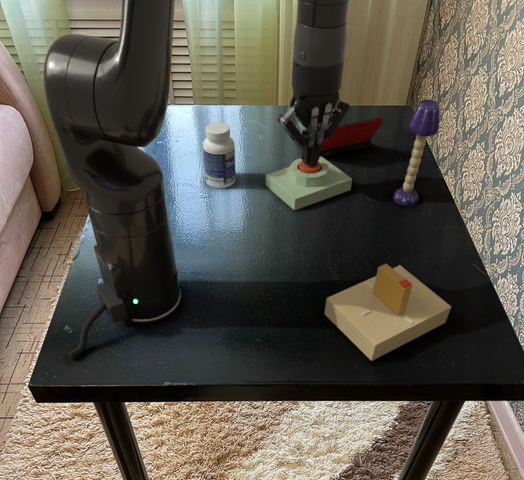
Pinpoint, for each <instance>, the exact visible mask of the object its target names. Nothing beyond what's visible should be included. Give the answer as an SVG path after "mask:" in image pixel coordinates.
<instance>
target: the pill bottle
mask: <svg viewBox="0 0 524 480" xmlns="http://www.w3.org/2000/svg"><path fill="white" fill-rule="evenodd" d="M205 137H206V138H204V140H203V142H202V155H203V165H204V166H203V167H204V179H205V182H206V184H207V185H208V186H210V187H212V188H214V189H215V188H216V189H225V188H228V187H230V186H232V185H234V183H235V182H236V147H235V146H236V145H235V141H234V139H233V138H232V137H231V128H230V126H229V124H227V123H224V122H212V123H209V124H208V125H206V127H205Z"/></svg>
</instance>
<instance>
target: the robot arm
mask: <svg viewBox="0 0 524 480" xmlns="http://www.w3.org/2000/svg"><path fill="white" fill-rule="evenodd" d="M175 2H176V0H121V14H120V15H121V16H120V17H121V18H120V19H121V21H120V29H119V36H118V39H111V38H104V37H99V36H93V35H86V34H79V33H67V34H64V35H61V36H60V37H58V38H56V39H55V40H54V42H52V44H51V45H50V46H49V48H48V50H47V51H46V55H45V59H44V64H43V78H42V79H43V91H44V98H45V102H46V105H47V109H48V113H49V117H50V120H51V122H52V126H53V129H54V132H55V134H56V137H57V140H58V142H59V146H60V149H61V151H62V154H63V157H64V160H65V163H66V167H67V169H68V171H69V175H70V177H71V178H72V180H73V181H74V183H75V185H77V187H78V188H79V189H80V191H81V193H82V195H83V199H84V202H85V205H86V209H87V213H88V217H89V220H90V225H91V228H92V232H93V236H94V238H95V242H96V244H95V245H94V246H93V250H94V254H95V257H96V261H97V265H98V268H99V271H100V275H101V279H102V282H103V283H101V284H99V285H96V286H95V288H96V292H97V295H98V298H99V301H100V305H99V306H98V307H97V308H96V309H95V310H94V311H93V312H92V313H91V314H90V316H89V317H88V318H87V319H86V321H85V322H84V324H83V326H82V327H81V330H80V336H79V337H80V338H79V342H78V345H77V346H76V348H74V349H72V350H70V351H69V352H68V353H67V356H68V357H69V358H70V359H74V358H76V357H78V356H80V354H82V353H83V351H84V350H85V348H86V346H87V344H88V336H89V332H90V329H91V327H92V326H93V324H94V323H95V321H96V320H97V319H98V318H100V316H101V315H102V314H103V313H104V312H105V311H106V314H107V315H108V316H109V318H110V319H111V321H112V323H113V324H117V323H119V322H122V324H123V325H124V327H128V326H130V325H152V324H157V323H159V322H162V321H164V320H166V319H168V318H170V317H171V316H173V315H174V314H175V313H176V312H177V311H178V310H179V308H180V306H181V303H182V292H181V287H180V271H179V270H180V269H178V267H177V262H176V256H175V248H174V242H173V233H172V228H171V221H170V213H169V205H168V199H167V193H166V185H165V178H164V173H163V170H162V167H161V165H160V164H159V162H158V161H157V159H155V158H154V157H153V156H152V155H150V154H149V153H147V152H146V151H144V150H143V149H141V148H145V147H149V146H150V145H151V144H153V143H154V142H155V140H156V139H157V138H158V137H159V135H160V133H161V131H162V128H163V126H164V123H165V119H166V114H167V110H168V106H169V105H168V104H169V100H170V99H169V98H170V89H171V74H172V73H171V72H172V56H173V40H174V39H173V38H174V24H175V23H174V21H175V19H174V18H175V4H176V3H175ZM349 3H350V0H297V3H296V4H297V5H296V22H295V28H294V33H293V34H294V35H293V49H292V65H291V66H292V69H291V88H292V97H291V99H290V102H289V109H288V110H287V111H286V112H285V114H279V115H278V117H277V119H276V121H277V122H278V123H279V125H280V126H281V127H282V129H283V130H284V131H285V132H286V134H287V135H288V136H289V138H290V139H291V140H292V141H293V142H295V143H296V144H298V145H299V146H300V147H301V156H300V158H301V159H302V161H303V162H304V164H306V165H307V166H308V167H311V166H315V165H317V162H318V161H319V158H320V149H321V144H322V143H323V140H324V139H325V138H330V137H331V136H332V135H333V133H334V132H335V130H336V128H337V127H338V126H340V124H341V122H342V121H343V119H344V117H345V116H346V114H347V113H348V111H349V110H350V108H351V107H350V103H348V102H346V101H345V100H344V99H341V98H340V90H341V89H342V88H341V87H342V82H343V81H342V80H343V73H344V65H345V55H346V46H347V36H348V35H347V23H348V22H347V21H348V13H349ZM297 120H298V123H297ZM297 125H298V127H297ZM298 128H299V129H298Z"/></svg>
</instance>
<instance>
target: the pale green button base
mask: <svg viewBox="0 0 524 480" xmlns="http://www.w3.org/2000/svg"><path fill="white" fill-rule="evenodd" d="M301 161H302V159H301V157H300V158H297V159H295V160H293V162H291V164H290V165H289V166H288V167H285V168H281V169H278V170H275V171H273V172H272V171H271V172H269V173H266V174H265V186H266V187H267V188H268V189H269V190H270V191H271V192H273V193H274V194H275V196H277V197H278V198H279V199H281V200H282V201H283V202H284V203H285V204H286V205H288V207H290V208H291V209H292V210H293V211H296V210H297V211H298V210H300V209H302V208H305V207H308V206H310V205H313V204H316V203H318V202H322V201H324V200H327V199H329V198H330V199H331V198H333V197H336V196H338V195H341V194H345V193H347V192H349V191H351V190H352V183H353V178H352V177H350V176H349V175H347V174H346V173H345V172H343V170H341V169H340V168H338V167H337V166H335V165H334V164H332V163H331V162H330V161H329V160H327V159H326V158H324V156H323V157H320V158H319V161H318V162H319V163H320V172H317V173H314V174H307V173H304V172H301V171H300V170H299V163H300V162H301Z"/></svg>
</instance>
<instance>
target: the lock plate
mask: <svg viewBox="0 0 524 480" xmlns="http://www.w3.org/2000/svg"><path fill="white" fill-rule="evenodd" d="M392 269H394V270H395V271H396V272H397V273H398V274H400V275H401V276H402V277H403V278H404V279H407V280H408V281H409V282H411V284H412V285H413V286H412V290H411V293H410V297H409V300H408V304H407V307H406V311H405V312H403V313H401V314H399V315H397V314H396V313H395V312H394V311H392V310H391V309H390V308H389V307H388V306H387V305H386V304H385V303H383V302H382V301H381V300H380V299H379V298H378V297H377V296H376V295H374V294H373V289H374V285H375V280H376V275H375V276H373V277H371V278H369V279H366V280H365V281H362V282H359V283H357V284H355V285H353V286H350V287H348V288H346V289H343V290H342V291H339V292H337V293H335V294H333V295H331V296H328V297H326V299H325V307H324V315H325V317H326V318H327V319H329V320H330V321H331V322H332V324H334V326H336V327H337V328H338V329H339V330H340V331H341V333H343V334H344V335H345V336H346V337H347V338H348V339H349V341H351V343H353V344H354V345H355V346H356V347H357V348H358V349H359V350H360V351H361V352H362V353H363V354H364V356H366V357H367V359H369V360H370V361H371V362H373V361H374V360H376V359H379V358H381V357H383V356H384V355H386V354H388V353H390V352H393V350H395V349H397V348H400V347H401V346H403V345H406V344H407V343H409V342H411V341H413V340H415V339H417V338H419V337H420V336H423V335H425V334H427V333H428V332H430V331H432V330H434V329H436V328H438V327H440V326H442V325H445V324H446V322H447V320H448V317H449V314H450V312H451V309H452V306H451V305H450V304H449V303H447V302H446V300H444V299H443V298H441V297H440V296H439V295H437V294H436V292H434V291H433V290H431V289H430V287H428V286H427V285H425V283H423V282H421V281H420V280H419V279H418V278H417V277H416V276H414V275H413V273H412V274H411V273H410V272H409V271H408V270H406V269H405V268H404V267H403V266H402V265H397V266H395V267H392Z"/></svg>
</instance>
